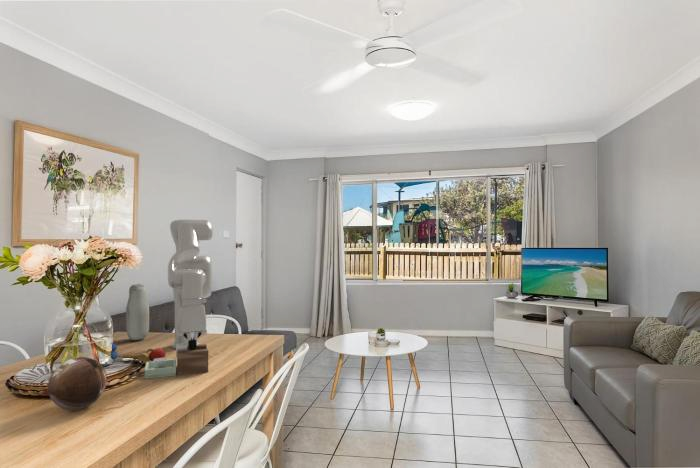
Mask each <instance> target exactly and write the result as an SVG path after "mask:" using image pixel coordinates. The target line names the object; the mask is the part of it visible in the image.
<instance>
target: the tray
mask: <svg viewBox="0 0 700 468" xmlns="http://www.w3.org/2000/svg"><path fill="white" fill-rule="evenodd" d="M165 360H166V368H158V369H154V361H151V360H150V361H149V362H147V363H146V365H145V368H144V379H146V380H147V379H153V378H154V379H155V378H163V377H173V376H177V358H175V359H174V358H173V359H165Z"/></svg>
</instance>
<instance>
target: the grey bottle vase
mask: <svg viewBox="0 0 700 468" xmlns="http://www.w3.org/2000/svg"><path fill="white" fill-rule="evenodd" d="M146 291H147V290H146V287H145V285H144V284H141V283H135V284H132V285H130V286H129V289H128V299H127V303H126V307H125V308H126V309H125V317H126V318H125V320H126V323H125V324H126V325H125V326H126V327H125V328H126V335H127V337H128V339H130V340H131V341H141V340H144V339H145V338H146V337H147V336H148V335H149V333H150V332H149V331H150V305H149V302H148V299H147V293H146Z"/></svg>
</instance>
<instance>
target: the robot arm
mask: <svg viewBox="0 0 700 468" xmlns="http://www.w3.org/2000/svg"><path fill="white" fill-rule="evenodd" d="M169 226H170V227H169V229H170V234H171V237H172V239H173V242H174V245H175V253H174V254H172V256H171V257H170V259H169V262H168V265H167V282H168V286H169V287H170V288H171V289H172V293H173V301H174V342H172V343H171V344H170V346H171V348H172V349H176V344H180V343H187V345H188V348H190V351H191V350H192V349H193V350H195V348H197V345H198V344H201V343H200V341H198V339H199V338H200V336H202V335H206V334H207V333H208V330H207V317H206V316H207V314H206V308H205V304H204V303H207V299H208V298H210V296H211V295H212V289H213V288H212V287H213V285H212V282H213V281H212V278H213V275H212V272H213V271H212V270H213V269H212V268H213V267H212V260H211V258H210V257H209V256H207V255H199V254H200V251H201V249H200V241H211V239H212V238H213V235H214V231H213V226H212V223H211V222H210V221H209V220H208V219H207V220H206V219H175V220H172V222H170V225H169Z"/></svg>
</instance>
